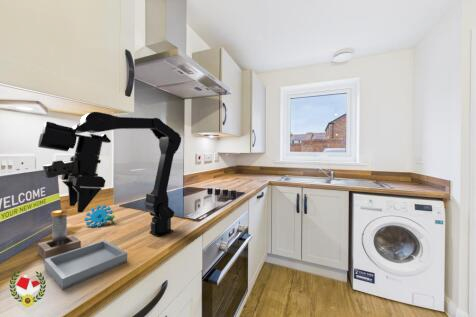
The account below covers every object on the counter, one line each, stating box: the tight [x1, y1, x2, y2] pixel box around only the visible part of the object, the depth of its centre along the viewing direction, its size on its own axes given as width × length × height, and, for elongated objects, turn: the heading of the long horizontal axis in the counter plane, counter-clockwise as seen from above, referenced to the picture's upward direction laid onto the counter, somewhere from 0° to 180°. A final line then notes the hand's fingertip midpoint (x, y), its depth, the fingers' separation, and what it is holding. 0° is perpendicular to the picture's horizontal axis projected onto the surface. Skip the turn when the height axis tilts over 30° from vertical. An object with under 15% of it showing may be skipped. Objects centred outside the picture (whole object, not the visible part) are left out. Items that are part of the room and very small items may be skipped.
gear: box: [84, 204, 116, 228], centre depth 84 cm, size 11×6×10 cm
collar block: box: [37, 234, 82, 262], centre depth 59 cm, size 8×8×3 cm
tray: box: [44, 239, 128, 291], centre depth 53 cm, size 14×14×2 cm
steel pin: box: [50, 209, 69, 247], centre depth 59 cm, size 4×4×12 cm
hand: (75, 209), depth 55 cm, fingers open, 9 cm apart
